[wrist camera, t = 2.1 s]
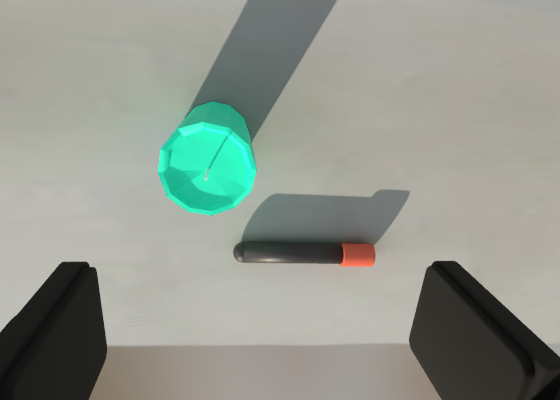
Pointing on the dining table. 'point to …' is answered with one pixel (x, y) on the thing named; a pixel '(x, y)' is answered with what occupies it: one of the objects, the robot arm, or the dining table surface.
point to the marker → (305, 253)
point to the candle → (208, 160)
